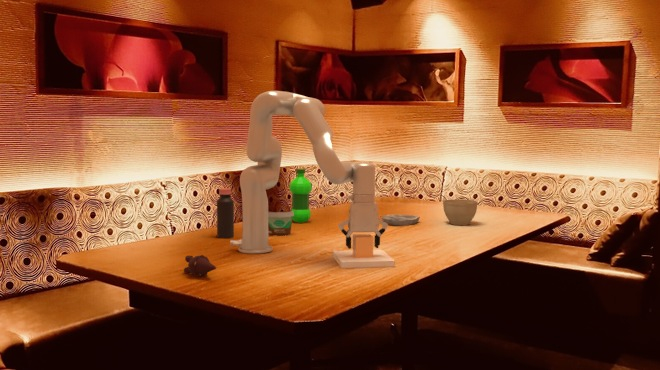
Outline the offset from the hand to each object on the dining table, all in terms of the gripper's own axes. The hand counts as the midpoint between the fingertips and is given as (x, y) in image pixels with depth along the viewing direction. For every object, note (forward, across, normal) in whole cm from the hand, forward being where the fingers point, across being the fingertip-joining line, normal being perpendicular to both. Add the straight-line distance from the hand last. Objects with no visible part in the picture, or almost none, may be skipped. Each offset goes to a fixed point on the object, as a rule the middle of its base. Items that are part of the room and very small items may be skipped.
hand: (362, 247), depth 222 cm
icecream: (+5, -55, -14) cm, 57 cm away
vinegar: (+5, -47, +50) cm, 69 cm away
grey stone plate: (+5, +34, +77) cm, 84 cm away
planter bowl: (+5, +62, +71) cm, 94 cm away
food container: (+5, -24, +52) cm, 57 cm away
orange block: (+3, 0, 0) cm, 3 cm away
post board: (+5, 0, 0) cm, 5 cm away
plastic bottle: (+5, -12, +84) cm, 85 cm away
